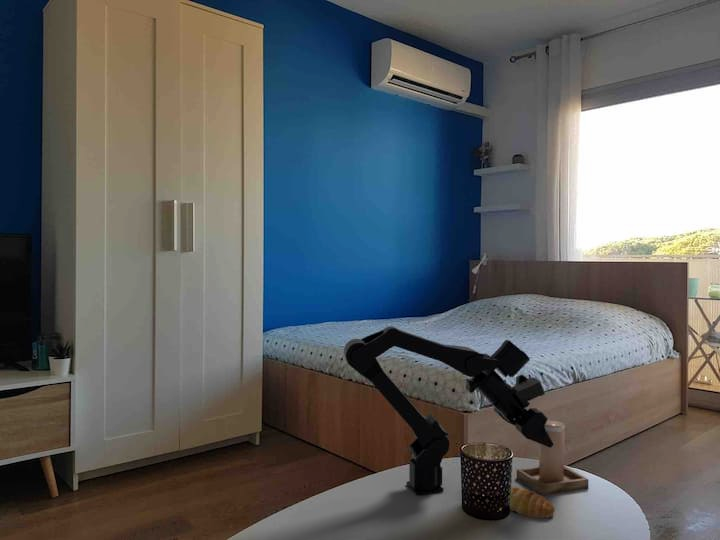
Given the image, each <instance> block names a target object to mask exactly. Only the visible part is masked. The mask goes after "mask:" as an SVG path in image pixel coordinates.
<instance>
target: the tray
mask: <svg viewBox="0 0 720 540" xmlns="http://www.w3.org/2000/svg"><path fill="white" fill-rule="evenodd" d="M516 479H518V480H519V479H520V480H519V481H521V482H522V481H523V482H522V483H524V482H525V483H526V484H525V483H524V484H525V485H527V484H528V485H529V486H528V485H527V486H528V487H530V486H531V487H532V488H531V487H530V488H531V489H533V488H534V489H535V491H536V492H537V491H538V493H539V492H540V493H541V494H540V493H539V494H540V495H541V496H544V495H543V494H546V495H551V494H550V493H552V494H558V493H557V492H559V493H563V492H562V491H566V492H572V491H577V490H584V489H589V478H587V477H586V476H583V475H581V474H580V473H578V472H576V471H574V470H572V469H571V468H569V467H568V466H565V465H564V481H561V482H554V483H547V484H546V483H543V482H541V481H540V480H539V465H538V466H531V467H524V468H523V467H522V468H517V469H516ZM534 489H533V490H534Z"/></svg>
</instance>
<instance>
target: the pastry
mask: <svg viewBox="0 0 720 540" xmlns="http://www.w3.org/2000/svg"><path fill="white" fill-rule="evenodd" d="M510 489H511V493H510V509H509V510H510V511H512V512H516V513H517V514H520V515H524V516H527V517H532V518H538V519H544V518H545V519H549V518H551V517H552V516H554V513H555V506H554V505H553V504H552V503H551V502H549V500H548V499H546V498H545V497H543V495H541V494H537V493H536V492H535V491H533V490H528V489H527V488H522V489H521V488H520V487H517V486H512V487H511V488H510Z"/></svg>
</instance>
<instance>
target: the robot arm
mask: <svg viewBox="0 0 720 540" xmlns="http://www.w3.org/2000/svg"><path fill="white" fill-rule="evenodd" d="M394 347H396V348H398V349H402V350H405V351H409V352H411V353H413V354H417V355H420V356H423V357H426V358H429V359H432V360H436V361H438V362H441V363H442V364H445V365H447V366H449V367H450V368H453V369H454V370H456V371H457V372H459V373H461V374H463V375H465V376H467V377H469V378H466V379H465V382H466V383H465V390H466V391H467V392H469V393H470V394H473V393H474V392H475V391H476V390H478V391H479V393H480V394H482V395H483V397H485V399H486V400H487V401H488V402H489V403H490V404H491V405H492V406H493V410H494V412H495V413H496V414H497V415H498V416H499V417H500V418H501V419H502V420H504V421H505V422H507V423H508V424H510V425H513V426H515V429H516V430H517V431H518V432H519V433H520V434H521V435H522V437H524V438H525V439H526V440H531V441H533V442H536V443H538V444H539V443H540V444H542V445H545V446H547V447H549V448H551V447H552V446H553V445H554V444H553V442H552V440H551V439H550V437H549V435H548V433H547V431H546V429H545V424H546V422H547V420H548V417H547V416H546V415H545V414H544V413H543V412H542V411H540V410H539V409H538V408H535V407H534V408H533V407H530V408H528V407H529V406H531V403H530V401H532V400H534V399H536V398H538V397H542V396H544V395H545V394H546V392H545V390H544V387H543V385H542V383H541V380H539V379H538V378H537V377H531V376H529V377H527V376H525V375H523V374H522V373H521V374H519V375H517V374H518V373H519V372H520V371H521V370H522V369H523V368H524V367H525V366H526V365H527V364H528V362H529V361H530V360H531V359H530V357H529V356H528V355H527V353H525V351H523V349H520V348H519V347H518V346H516V345H515V344H514V343H513V342H512V340H509V339H505V340H504V341H503V342H502V343H501V345H500V347H498V349H496V351H494V353H492V354H491V355H489V354H487V353H481V352H478V351H476V350H474V349H472V348H471V347H467V346H462V345H455V344H445V343H444V344H443V343H440V342H437V341H435V340H432V339H428V338H425V337H422V336H419V335H416V334H413V333H409V332H408V331H404V330H402V329H399V328H396V327H395V326H392V325H390V326H386V327H385V328H383V329H381V330H379V331H376V332H374V333H372V334H369V335H366V336H364V337H362V338H354V339H350V340H349V341H347V342H346V343H345V346H344V347H343V355H344V358H345V360H346V362H347V364H348V365H349V366H350V367H351V368H352V369H353V370H354V371H356V373H358V374H360V375H361V376H362V377H363V378H365V379H367V380H368V381H370V383H372V384H373V386H374V387H375V388H376V389H377V391H378V392H379V393H380V395H382V396H383V397H384V398H385V400H387V402H388V403H389V404H390V405H391V407H392V408H393V409H394V410H395V411H396V412H397V414H398V415H399V416H400V417H401V418H402V419H403V420H404V422H405V423H406V424H407V425H408V426H409V427H410V429H411V431H412V432H413V434H414V436H415V439H414V440H413V441H412V442H411V443H410V444H409V445H408V449H409V452H410V454H411V456H412V457H413V458H411V459H409V473H408V475H409V481H406V485H407V486H408V487H409V488H410V489H411V491H412V492H413V493H414V494H416V495H419V496H421V495H427V494H435V493H440V492H444V491H445V489H444V488H443V486H442V485H443V467H442V466H441V463H442V461H443V458H444V456H445V455H447V453H448V452H449V449H450V445H451V444H450V440H449V438H448V437H447V436H448V435H449V433H448V432H447V431H446V430H445V428H444V427H443V426H442V425H441V424H440V423H439V422H438V420H436V419H435V417H434V416H433V414H432V413H429V414H428V415H427V417H426V416H425V415H424V414H422V413H421V412H419V410H418V409H417V408H416V406H414V404H413V403H412V402H411V401H410V400H409V399H408V397H407V396H406V395H405V394H404V392H403V391H401V389H400V388H399V387H398V386H397V384H396V383H395V382H394V381H393V380H392V379H391V377H390V376H388V374H387V373H386V372H385V370H383V368H382V366H381V365H380V363H379V360H378V359H377V358H378V357H380V356H381V355H383V354H384V353H385V352H387V351H388V350H390V349H392V348H394ZM496 371H498V372H499V373H500V374H499V373H498V372H496ZM500 375H502V376H503V377H504V378H507V377H509V378H514V377H515V376H516V375H517V376H516V378H515V383H514V385H513V386H511V385H510V384H509V383H507V382H506V381H505V380H504V379H503V377H501V376H500ZM527 408H528V409H527Z"/></svg>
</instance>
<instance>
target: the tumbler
mask: <svg viewBox="0 0 720 540" xmlns="http://www.w3.org/2000/svg"><path fill="white" fill-rule="evenodd" d="M565 426H566V425H565V424H564V423H563V422H560V421H557V420H548V419H547V422H546V424H545V429H546V431H547V433H548V435H549V437H550V439H551V440H552V442H553V444H554V445H553V446H552V447H551V448H549V447H547V446H545V445H542V444H540V443H538V445H539V446H538V447H539V448H538V449H539V450H538V451H539V452H538V455H539V457H538V459H539V460H538V466H539V480H540V481H541V482H543V483H546V484H547V483H554V482H561V481H564V466H565V429H566V428H565Z"/></svg>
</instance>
